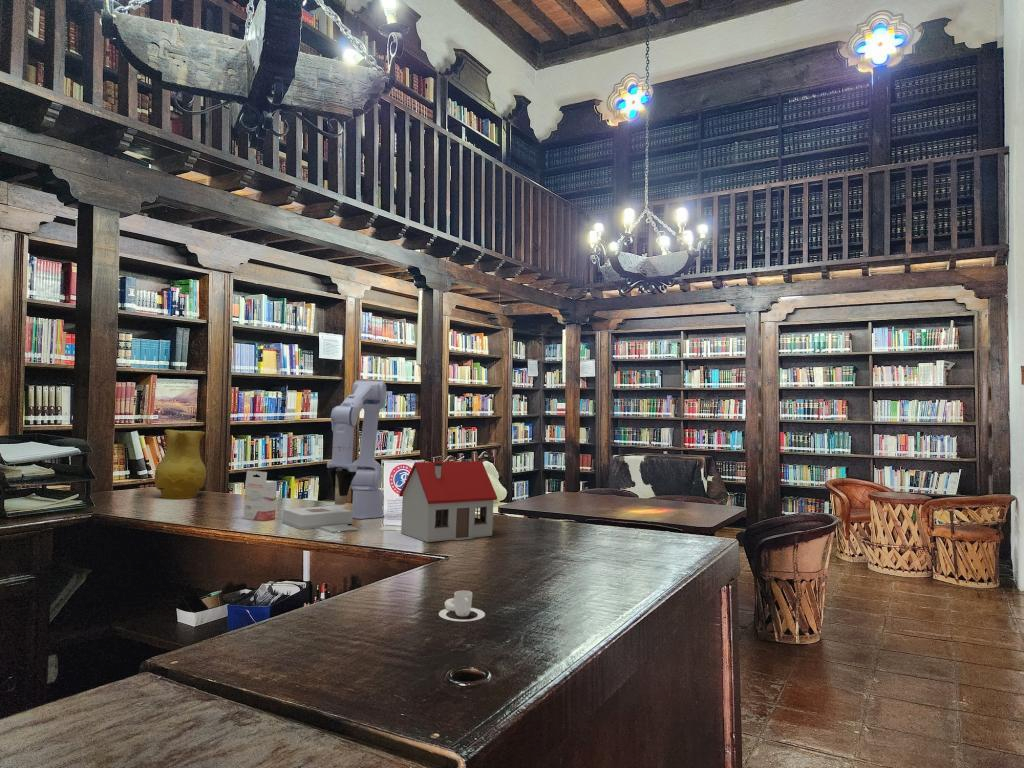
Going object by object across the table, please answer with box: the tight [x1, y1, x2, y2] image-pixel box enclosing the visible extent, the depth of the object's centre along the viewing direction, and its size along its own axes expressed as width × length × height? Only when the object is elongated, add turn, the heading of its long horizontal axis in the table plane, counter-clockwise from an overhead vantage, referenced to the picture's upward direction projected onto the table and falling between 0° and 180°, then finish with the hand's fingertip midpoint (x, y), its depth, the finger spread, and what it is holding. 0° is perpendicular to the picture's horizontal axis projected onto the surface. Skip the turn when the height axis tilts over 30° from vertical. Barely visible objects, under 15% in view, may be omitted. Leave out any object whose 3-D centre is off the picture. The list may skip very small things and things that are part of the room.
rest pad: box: [320, 524, 359, 533], centre depth 188 cm, size 8×8×1 cm
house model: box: [398, 460, 498, 543], centre depth 186 cm, size 25×20×21 cm
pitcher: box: [153, 429, 207, 500], centre depth 244 cm, size 17×19×25 cm
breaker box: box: [281, 505, 353, 530], centre depth 196 cm, size 16×13×4 cm
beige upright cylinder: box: [334, 469, 347, 506], centre depth 189 cm, size 3×3×10 cm
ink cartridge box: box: [243, 470, 278, 522], centre depth 201 cm, size 9×5×15 cm, turn 68°
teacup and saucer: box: [438, 590, 486, 623], centre depth 113 cm, size 9×8×4 cm
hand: (340, 494), depth 189 cm, fingers closed on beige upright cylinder, 3 cm apart
